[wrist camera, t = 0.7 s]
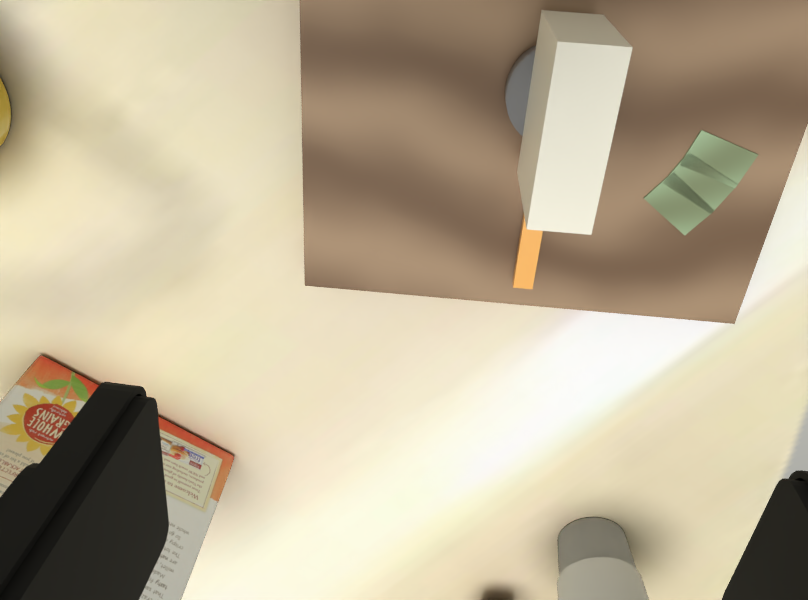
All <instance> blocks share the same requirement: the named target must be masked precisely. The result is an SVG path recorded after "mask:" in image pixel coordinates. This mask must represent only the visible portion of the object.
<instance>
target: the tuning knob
mask: <svg viewBox="0 0 808 600" xmlns="http://www.w3.org/2000/svg"><path fill="white" fill-rule="evenodd" d="M632 48H633V47H632V46H631V45H630V44H629V43H628V42H627V40H626V39H625V38H624V37H623V36H622V35H621V34H620V33H619V32H618V30H617V29H616V28H615V27H614V26H613V25H612V24H611V23H610V22H609V20H608V19H607V18H606V17H605V16H604V15H601V14H588V13H575V12H561V11H548V10H542V11H541V17H540V24H539V31H538V37H537V44H536V45H535V46H533V47H531V48H530V49H528V50H527V51H526V52H524V53H523V54H522V55H521V56H520V57H519V58H518V60H517V61H516V62H515V64H514V65H513V67H512V68H511V70H510V73H509V75H508V78H507V81H506V86H505V100H506V106H507V111H508V115H509V118H510V121H511V123H512V124H513V126H514V127H515V129H516V130H517V131H518V132H519V134H520V135H522V136H523V137H522V143H521V150H520V156H519V163H518V170H517V174H518V180H519V186H520V193H521V199H522V205H523V211H524V214H523V220H522V227H521V233H520V239H519V245H518V251H517V258H516V264H515V270H514V276H513V282H512V283H513V288H523V289H533V283H534V278H535V272H536V267H537V261H538V256H539V250H540V244H541V239H542V233H543V231H551V232H563V233H575V234H587V235H591V234H592V230H593V225H594V221H595V216H596V212H597V207H598V203H599V198H600V193H601V189H602V184H603V180H604V175H605V171H606V166H607V162H608V157H609V153H610V148H611V144H612V139H613V134H614V130H615V125H616V121H617V116H618V112H619V107H620V103H621V98H622V94H623V89H624V84H625V80H626V75H627V71H628V66H629V62H630V57H631V53H632Z"/></svg>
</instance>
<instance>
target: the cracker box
mask: <svg viewBox="0 0 808 600" xmlns="http://www.w3.org/2000/svg"><path fill="white" fill-rule="evenodd" d="M98 386H99V385H97V384H95V383H94V382H92V381H90V380H88V379H86V378H84V377H83V376H81V375H79V374H77V373H75V372H73V371H71V370H69V369H67V368H65V367H63V366H61V365H59V364H58V363H56V362H54V361H52V360H50V359H48V358H46V357H44V356H41V355H40V356H39V357H38V358H37V359H36V360H35V361H34V363H33V364H32V365H31V366H30V367H29V368H28V369H27V371H26V372H25V373H24V374H23V375H22V376H21V378H20V379H19V380H18V381H17V382H16V384H15V385H14V386H13V387H12V388H11V390H10V391H9V392H8V393H7V394H6V395H5V397H4V398H3V399H2V400H1V401H0V497H1V496H2V495H3V493H4V492H5V491H6V489H7V488H8V487H9V486H10V484H11V483H12V482H13V481H14V479H15V478H16V477H17V475H18V474H19V473H20V472H21V471H22V470H23V469H24V468H25V467H26V466H28V465H30V464H32V463H40V462H41V461H42V459H43V458H44V457H45V455H46V454H47V453H48V451H49V450H50V449H51V448H52V446H53V445H54V444H55V442H56V441H57V440H58V438H59V437H60V436H61V434H62V433H63V432H64V431H65V429H66V428H67V427H68V425H69V424H70V423H71V421H72V420H73V419H74V417H75V416H76V415H77V413H78V412H79V411H80V410H81V408H82V407H83V406H84V404H85V403H86V402H87V400H88V399H89V398H90V396H91V395H92V394H93V393H94V391H95V390H96V389H97V387H98ZM158 419H159V429H160V439H161V449H162V459H163V469H164V479H165V489H166V498H167V508H168V518H169V529H168V535H167V539H166V543H165V545H164V548H163V550H162V552H161V554H160V556H159V558H158V561H157V563H156V565H155V567H154V569H153V571H152V573H151V575H150V577H149V580H148V582H147V584H146V586H145V588H144V590H143V592H142V594H141V596H140V599H139V600H181V598H182V596H183V593H184V591H185V588H186V585H187V583H188V580H189V578H190V575H191V572H192V570H193V567H194V564H195V562H196V559H197V556H198V554H199V551H200V548H201V546H202V543H203V541H204V538H205V536H206V533H207V530H208V528H209V525H210V522H211V520H212V517H213V514H214V512H215V509H216V506H217V503H218V501H219V498H220V495H221V493H222V490H223V488H224V485H225V482H226V480H227V477H228V474H229V471H230V469H231V466H232V463H233V460H234V456H233V455H231V454H230V453H228V452H226V451H224V450H222V449H220V448H218V447H216V446H214V445H212V444H210V443H208V442H206V441H204V440H202V439H200V438H198V437H197V436H195V435H193V434H191V433H189V432H187V431H185V430H183V429H182V428H180V427H178V426H176V425H174V424H172V423H170V422H168V421H166V420H164V419H162V418H160V417H159V416H158Z"/></svg>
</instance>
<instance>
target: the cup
mask: <svg viewBox="0 0 808 600" xmlns="http://www.w3.org/2000/svg"><path fill="white" fill-rule="evenodd" d="M558 562H559V578H558V582H557V591H558V600H649V598H648V595H647V592H646V589H645V586H644V583H643V580H642V577H641V575H640V573H639V572H638V570H637V569H636V566H635V563H634V560H633V557H632V554H631V551H630V548H629V545H628V542H627V539H626V536H625V533H624V531H623V530H622V528H621V527H620V526H619V525H617V524H616V523H614V522H613V521H610V520H607V519H603V518H596V517H590V518H583V519H579V520H576V521H573V522H571V523H569V524H568V525H567V526H565V527H564V528H563V529H562V531H561V532H560V534H559V536H558Z"/></svg>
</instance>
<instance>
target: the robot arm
mask: <svg viewBox="0 0 808 600" xmlns="http://www.w3.org/2000/svg"><path fill="white" fill-rule="evenodd" d="M168 529H169V518H168V508H167V498H166V489H165V479H164V469H163V459H162V449H161V439H160V429H159V419H158V409H157V403H156V400H155V399H154V398H151V397H147V396H146V391H145V390H144V388H143V387H140V386H133V385H125V384H118V383H110V382H104V383H101V384H100V385H99V386H98V387H97V389H96V390H95V391H94V393H93V394H92V395H91V396H90V398H89V399H88V400H87V402H86V403H85V404H84V406H83V407H82V408H81V410H80V411H79V412H78V413H77V415H76V416H75V417H74V419H73V420H72V421H71V423H70V424H69V425H68V427H67V428H66V429H65V431H64V432H63V433H62V434H61V436H60V437H59V438H58V440H57V441H56V442H55V444H54V445H53V446H52V448H51V449H50V450H49V451H48V453H47V454H46V455H45V457H44V458H43V459H42V461H41V462H40V463H32V464H30V465H28V466H26V467H25V468H24V469H23V470H22V471H21V472H20V473H19V474H18V475H17V477H16V478H15V479H14V481H13V482H12V483H11V484H10V486H9V487H8V488H7V489H6V491H5V492H4V493H3V495H2V496H1V497H0V600H139V599H140V596H141V594H142V592H143V590H144V588H145V586H146V584H147V582H148V580H149V577H150V575H151V573H152V571H153V569H154V567H155V565H156V563H157V561H158V558H159V556H160V554H161V552H162V550H163V548H164V545H165V543H166V539H167V535H168ZM722 600H808V471H795V472H794V473H792V474H791V476H790V477H789V479H782V480H780V481H779V482H778V484H777V485H776V487H775V489H774V491H773V493H772V496H771V498H770V500H769V502H768V504H767V506H766V508H765V510H764V512H763V514H762V516H761V518H760V520H759V522H758V524H757V526H756V529H755V531H754V533H753V535H752V537H751V539H750V541H749V543H748V545H747V547H746V549H745V551H744V553H743V555H742V557H741V560H740V562H739V564H738V566H737V568H736V570H735V572H734V574H733V576H732V578H731V580H730V582H729V584H728V586H727V588H726V590H725V593H724V595H723V598H722Z"/></svg>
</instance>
